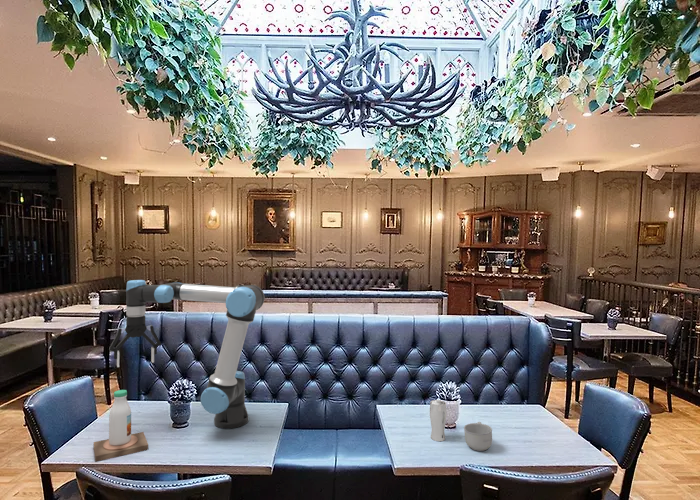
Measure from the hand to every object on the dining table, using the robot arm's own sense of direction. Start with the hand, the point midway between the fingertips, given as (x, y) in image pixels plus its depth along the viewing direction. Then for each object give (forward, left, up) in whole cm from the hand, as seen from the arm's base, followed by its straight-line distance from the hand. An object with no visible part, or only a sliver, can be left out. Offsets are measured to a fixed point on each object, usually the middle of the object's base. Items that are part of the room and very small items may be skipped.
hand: (135, 364), depth 186 cm
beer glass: (-106, +77, -29) cm, 134 cm away
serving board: (+7, +16, -29) cm, 34 cm away
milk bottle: (+7, +16, -26) cm, 32 cm away
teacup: (-115, +91, -29) cm, 149 cm away
